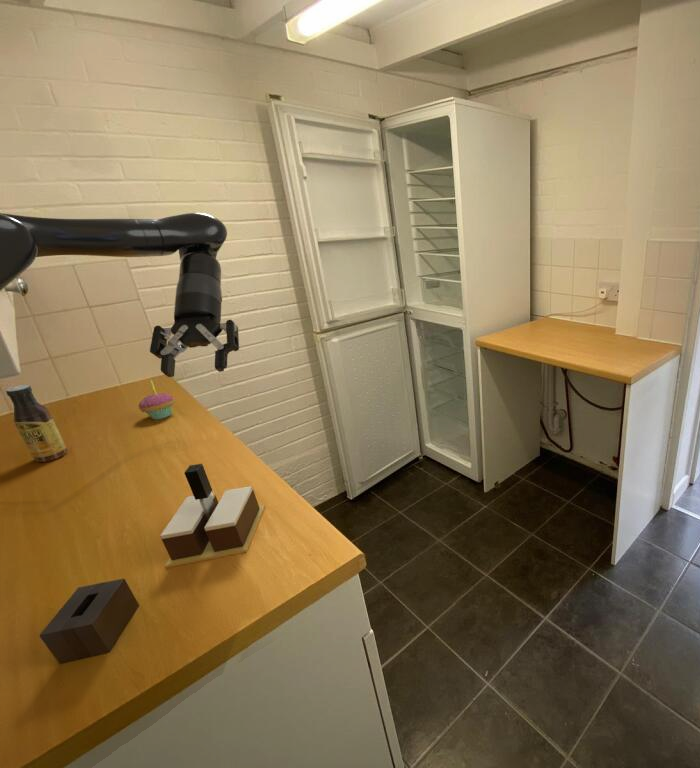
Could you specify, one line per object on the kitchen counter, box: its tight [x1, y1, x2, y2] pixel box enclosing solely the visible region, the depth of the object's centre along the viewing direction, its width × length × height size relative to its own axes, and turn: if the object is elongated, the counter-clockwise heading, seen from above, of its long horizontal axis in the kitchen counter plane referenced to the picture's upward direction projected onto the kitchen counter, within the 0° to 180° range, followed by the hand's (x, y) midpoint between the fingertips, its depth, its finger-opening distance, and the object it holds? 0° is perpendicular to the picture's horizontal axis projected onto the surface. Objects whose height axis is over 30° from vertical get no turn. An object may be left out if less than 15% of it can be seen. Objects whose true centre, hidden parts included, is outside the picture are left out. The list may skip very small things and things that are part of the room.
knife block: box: [38, 578, 140, 665], centre depth 62 cm, size 8×6×6 cm
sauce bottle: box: [5, 384, 68, 463], centre depth 105 cm, size 6×6×20 cm
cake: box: [160, 485, 266, 569], centre depth 80 cm, size 13×13×6 cm
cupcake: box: [138, 377, 175, 420], centre depth 127 cm, size 9×8×12 cm
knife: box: [183, 463, 216, 521], centre depth 78 cm, size 3×2×15 cm, turn 15°
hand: (194, 372), depth 80 cm, fingers open, 8 cm apart
